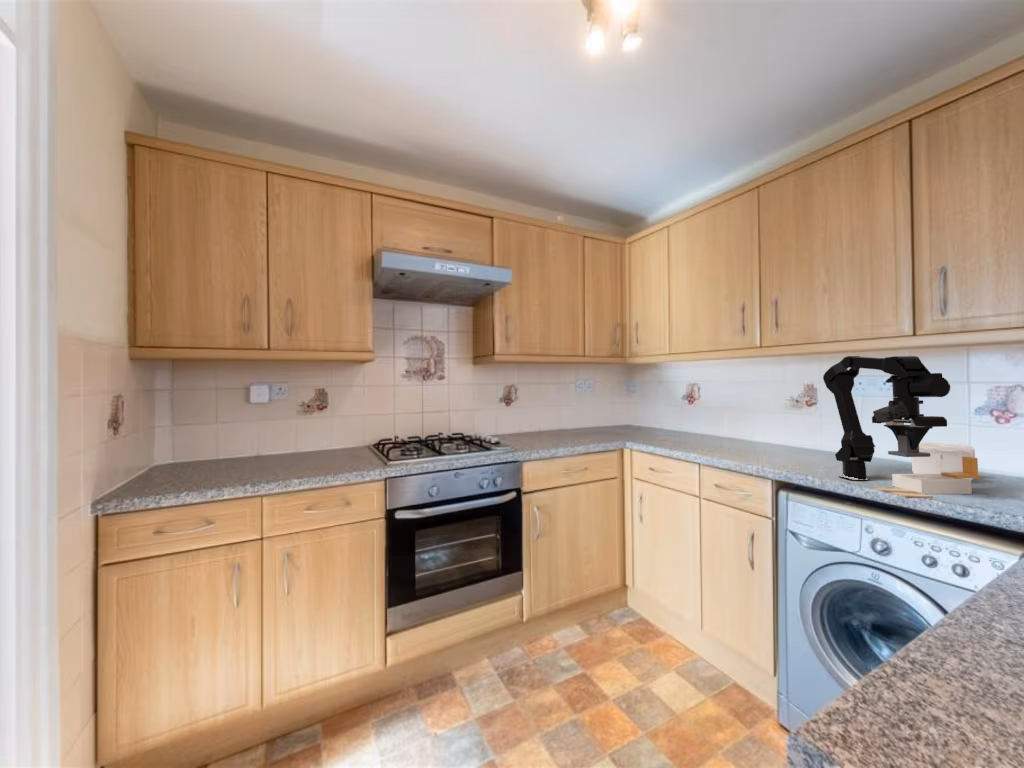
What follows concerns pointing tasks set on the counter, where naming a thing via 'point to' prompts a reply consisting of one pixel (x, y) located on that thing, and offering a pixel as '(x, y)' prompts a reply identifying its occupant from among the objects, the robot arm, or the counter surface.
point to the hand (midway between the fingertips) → (908, 448)
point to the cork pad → (904, 492)
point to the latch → (966, 469)
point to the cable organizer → (941, 458)
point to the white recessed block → (932, 483)
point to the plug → (907, 448)
